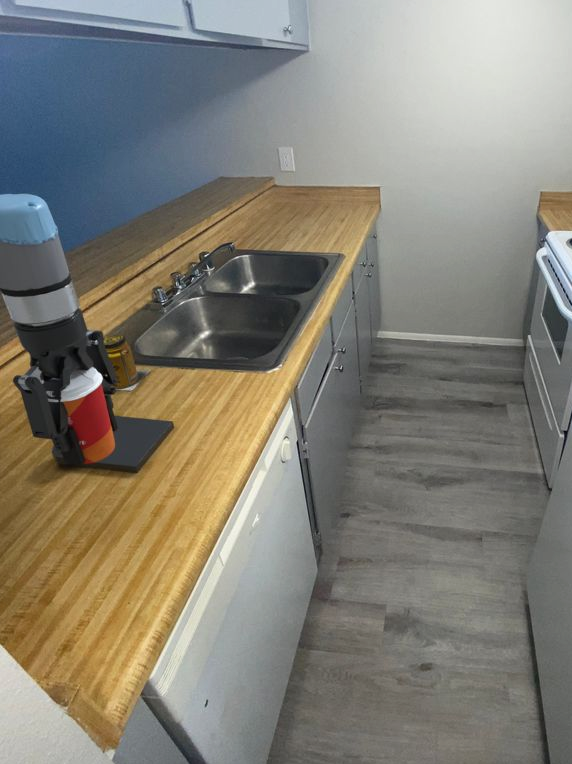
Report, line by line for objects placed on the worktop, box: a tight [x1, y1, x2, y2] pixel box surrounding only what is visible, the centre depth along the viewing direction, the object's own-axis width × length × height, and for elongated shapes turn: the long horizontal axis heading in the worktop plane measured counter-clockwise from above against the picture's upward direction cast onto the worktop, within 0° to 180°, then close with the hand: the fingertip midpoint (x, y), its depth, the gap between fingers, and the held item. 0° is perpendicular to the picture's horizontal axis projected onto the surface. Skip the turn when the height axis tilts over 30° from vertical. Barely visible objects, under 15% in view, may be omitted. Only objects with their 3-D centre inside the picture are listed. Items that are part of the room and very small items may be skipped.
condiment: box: [103, 334, 152, 391], centre depth 112 cm, size 7×8×12 cm
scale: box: [51, 415, 175, 474], centre depth 94 cm, size 17×14×4 cm
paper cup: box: [46, 367, 115, 464], centre depth 71 cm, size 8×8×14 cm
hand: (93, 444), depth 74 cm, fingers closed on paper cup, 7 cm apart
